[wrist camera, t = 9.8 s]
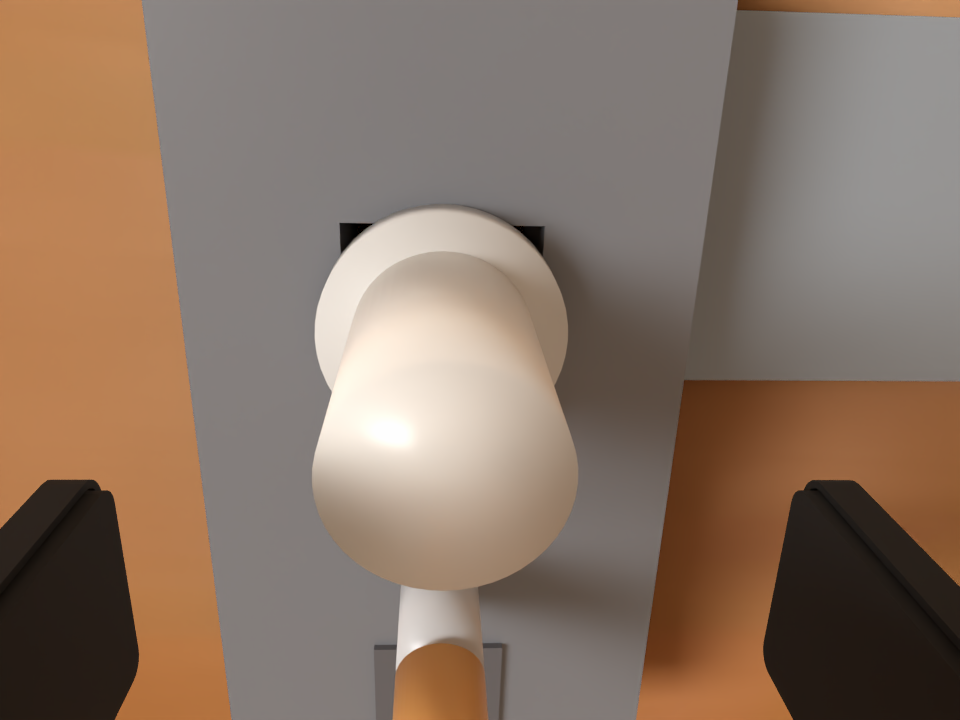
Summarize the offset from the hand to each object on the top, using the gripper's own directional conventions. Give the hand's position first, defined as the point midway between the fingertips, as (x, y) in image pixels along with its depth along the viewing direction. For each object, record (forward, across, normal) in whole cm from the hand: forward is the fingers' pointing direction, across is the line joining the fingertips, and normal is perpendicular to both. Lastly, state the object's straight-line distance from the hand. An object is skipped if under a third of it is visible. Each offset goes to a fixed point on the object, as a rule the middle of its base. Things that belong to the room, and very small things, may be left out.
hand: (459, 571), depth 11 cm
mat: (+12, -12, -3) cm, 17 cm away
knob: (+12, 0, -1) cm, 13 cm away
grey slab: (+12, 0, +2) cm, 13 cm away
